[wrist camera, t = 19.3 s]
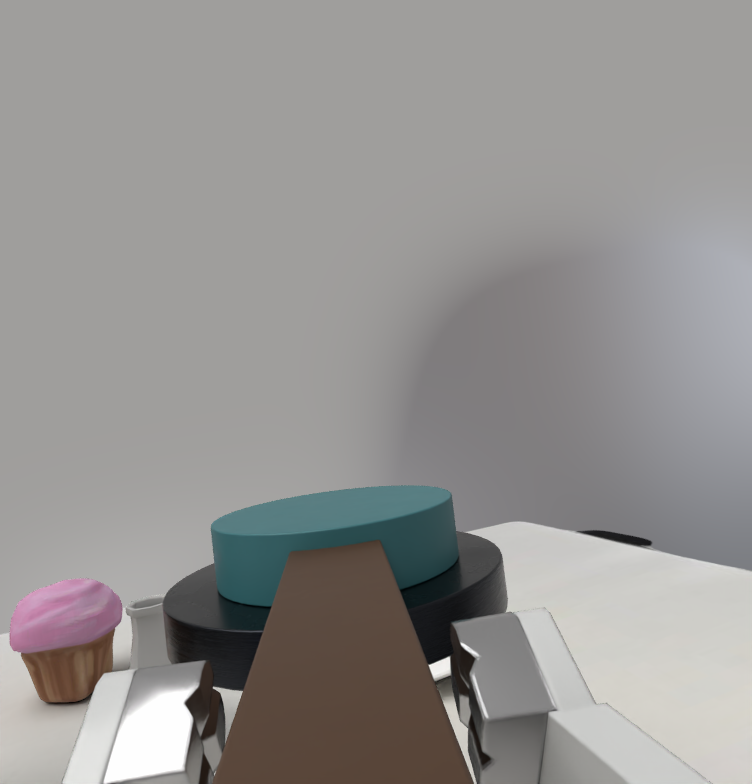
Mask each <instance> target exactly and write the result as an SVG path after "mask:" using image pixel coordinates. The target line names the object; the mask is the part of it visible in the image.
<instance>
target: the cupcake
mask: <svg viewBox="0 0 752 784" xmlns="http://www.w3.org/2000/svg"><path fill="white" fill-rule="evenodd" d="M121 619H122V603H121V600H120V598H119V596H118V595H116V594H115V593H114V592H113V591H112V589H110V588H109V587H108V586H106V585H105V584H103V583H101V582H98V581H96V580H93V579H71V580H63V581H60V582H58V583H55V584H53V585H50V586H46V587H44V588H41V589H37V590H36V591H33V592H32V593H30V594H28V595H27V596H26V597H24V598H23V599H22V600H21V601H20V602H19V603H18V605H17V607H16V609H15V611H14V614H13V616H12V618H11V627H10V646H11V647H12V649H13V651H17V652H21V656H22V659H23V661H24V663H25V665H26V667H27V669H28V671H29V673H30V676H31V678H32V681H33V683H34V686H35V688H36V690H37V693H38V695H39V697H40V699H41V700H43V701H45V702H75V701H79V700H82V699H84V698H86V697H87V696H89V695H90V694H91V693H92V692H93V691H94V688H95V685H96V684H97V683H98V681H99V680H100V678H101V677H102V675H103V674H104V673H110V672H112V667H113V636H114V632H115V627H116V626H117V625H118V624H119V623H120V622H121Z"/></svg>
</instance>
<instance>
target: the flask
mask: <svg viewBox="0 0 752 784" xmlns="http://www.w3.org/2000/svg"><path fill="white" fill-rule="evenodd" d="M165 595H166V594H162V595H155V596H149V597H145V598H142V599H139V600H136V601H133V602H131V603H130V604H129V605H128V606H127V607H126V613H127V615H129V616H130V617H131V622H132V634H133V637H132V649H131V662H130V667H129V670H131V669H138V668H146V667H154V666H162V665H170V664H171V662H170V660H169V659H168V655H167V647H166V637H165V628H164V618H163V608H162V603H163V600H164V597H165Z"/></svg>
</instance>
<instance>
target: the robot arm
mask: <svg viewBox="0 0 752 784" xmlns="http://www.w3.org/2000/svg"><path fill="white" fill-rule="evenodd" d="M450 640H451V644H452V647H453V651H454V653H453V654H452V655H451V657H450V671H451V680H452V688H453V693H454V698H455V702H456V707H457V711H458V715H459V719H460V721H461V722H462V723H463V724H464V725H465V726H466V727H467V728H468V753H469V756H470V760H471V764H472V767H473V771H474V775H475V778H476V782H477V784H712V783H711V782H710V781H708V780H707V779H706V778H704V777H703V776H702V775H700V774H699V773H698V772H697V771H695V770H694V769H693V768H691V767H690V766H689V765H687V764H686V763H685V762H683V761H682V760H681V759H679V758H678V757H677V756H675V755H674V754H673V753H672V752H670V751H669V750H668V749H666V748H665V747H664V746H662V745H661V744H660V743H658V742H657V741H656V740H654V739H653V738H652V737H650V736H649V735H648V734H647V733H645V732H644V731H643V730H641V729H640V728H639V727H637V726H636V725H635V724H633V723H632V722H631V721H629V720H628V719H627V718H625V717H624V716H623V715H622V714H620V713H619V712H618V711H616V710H615V709H614V708H612V707H611V706H610V705H608V704H607V703H602V704H596V702H595V700H594V698H593V697H592V695H591V693H590V691H589V689H588V687H587V685H586V683H585V681H584V679H583V677H582V675H581V673H580V671H579V669H578V667H577V665H576V663H575V661H574V659H573V657H572V655H571V653H570V651H569V649H568V647H567V645H566V643H565V641H564V639H563V637H562V635H561V633H560V631H559V629H558V627H557V625H556V623H555V621H554V619H553V617H552V615H551V613H550V612H549V611H548V610H547V609H546V608H538V609H531V610H525V611H518V612H513V613H512V612H507V613H501V614H495V615H489V616H483V617H477V618H471V619H465V620H459V621H453V622H451V625H450ZM213 681H214V671H213V669H212V666H211V663H210V660H203V661H195V662H187V663H178V664H170V665H162V666H154V667H146V668H138V669H131V670H124V671H117V672H110V673H104V674H103V675H102V677H101V678H100V680H99V681H98V683H97V684H96V685H95V688H94V691H93V694H92V697H91V700H90V703H89V706H88V708H87V711H86V714H85V717H84V720H83V723H82V726H81V729H80V731H79V734H78V737H77V740H76V743H75V746H74V749H73V752H72V754H71V757H70V760H69V763H68V766H67V769H66V772H65V775H64V777H63V780H62V783H61V784H212V782H213V779H214V773H215V771H216V770H217V768H218V765H219V762H220V759H221V756H222V753H223V750H224V747H225V713H224V706H223V701H222V698H221V694H220V693H219V692H218V691H216V690H214V689H213Z"/></svg>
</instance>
